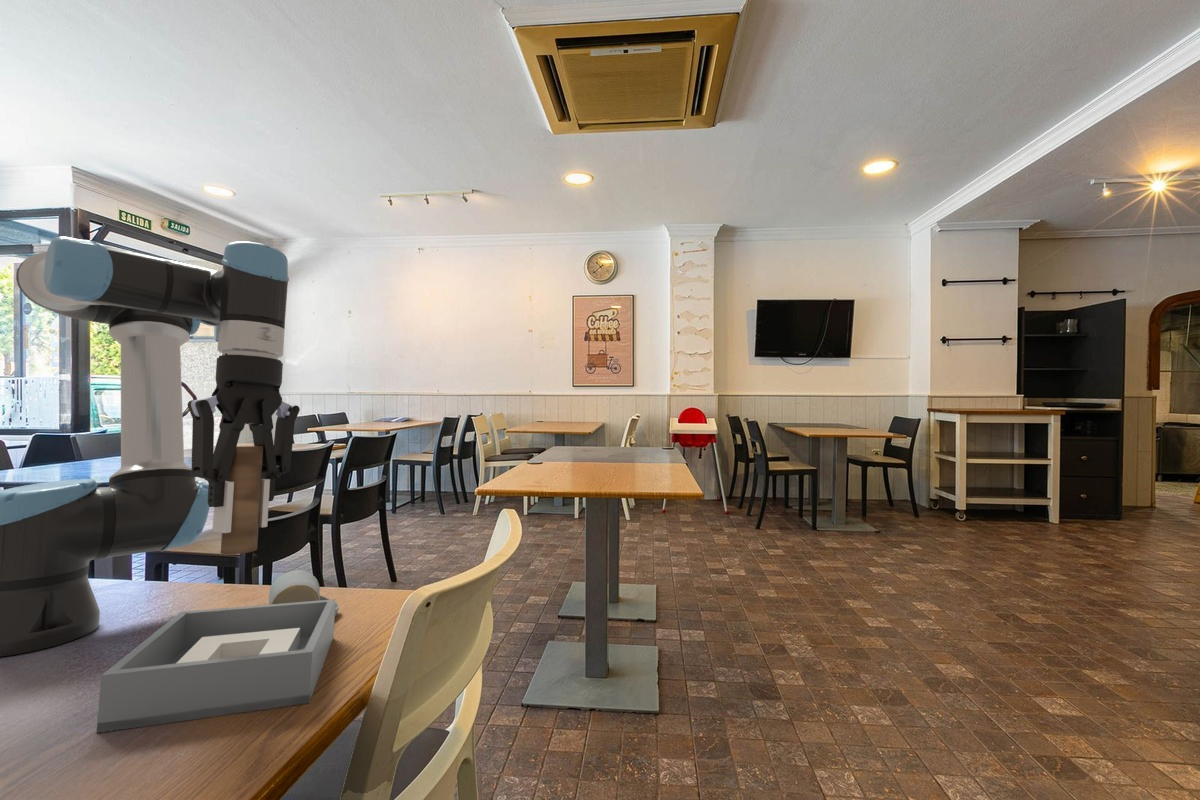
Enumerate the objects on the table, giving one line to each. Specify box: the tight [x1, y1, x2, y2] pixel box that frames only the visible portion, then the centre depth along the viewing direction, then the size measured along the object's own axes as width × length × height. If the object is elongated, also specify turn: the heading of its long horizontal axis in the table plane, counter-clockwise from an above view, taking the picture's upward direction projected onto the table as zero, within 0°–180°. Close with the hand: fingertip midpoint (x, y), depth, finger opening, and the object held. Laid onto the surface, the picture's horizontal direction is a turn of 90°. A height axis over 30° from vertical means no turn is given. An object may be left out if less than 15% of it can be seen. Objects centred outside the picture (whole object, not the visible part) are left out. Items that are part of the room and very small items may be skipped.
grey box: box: [96, 598, 336, 734], centre depth 67 cm, size 20×20×6 cm
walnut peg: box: [220, 445, 263, 555], centre depth 69 cm, size 4×4×14 cm
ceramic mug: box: [268, 569, 340, 616], centre depth 87 cm, size 11×8×8 cm
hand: (240, 528), depth 68 cm, fingers closed on walnut peg, 4 cm apart
